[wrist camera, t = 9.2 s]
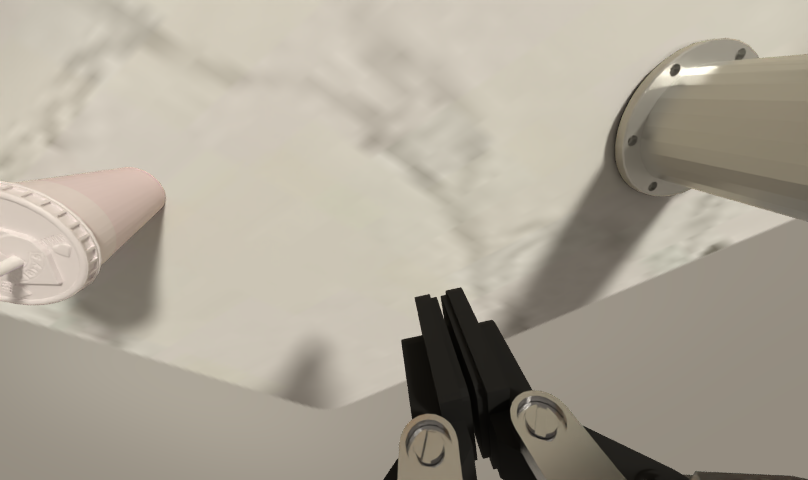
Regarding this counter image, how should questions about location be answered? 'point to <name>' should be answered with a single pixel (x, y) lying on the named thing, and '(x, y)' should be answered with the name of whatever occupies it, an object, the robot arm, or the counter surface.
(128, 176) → the smoothie
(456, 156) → the counter surface
